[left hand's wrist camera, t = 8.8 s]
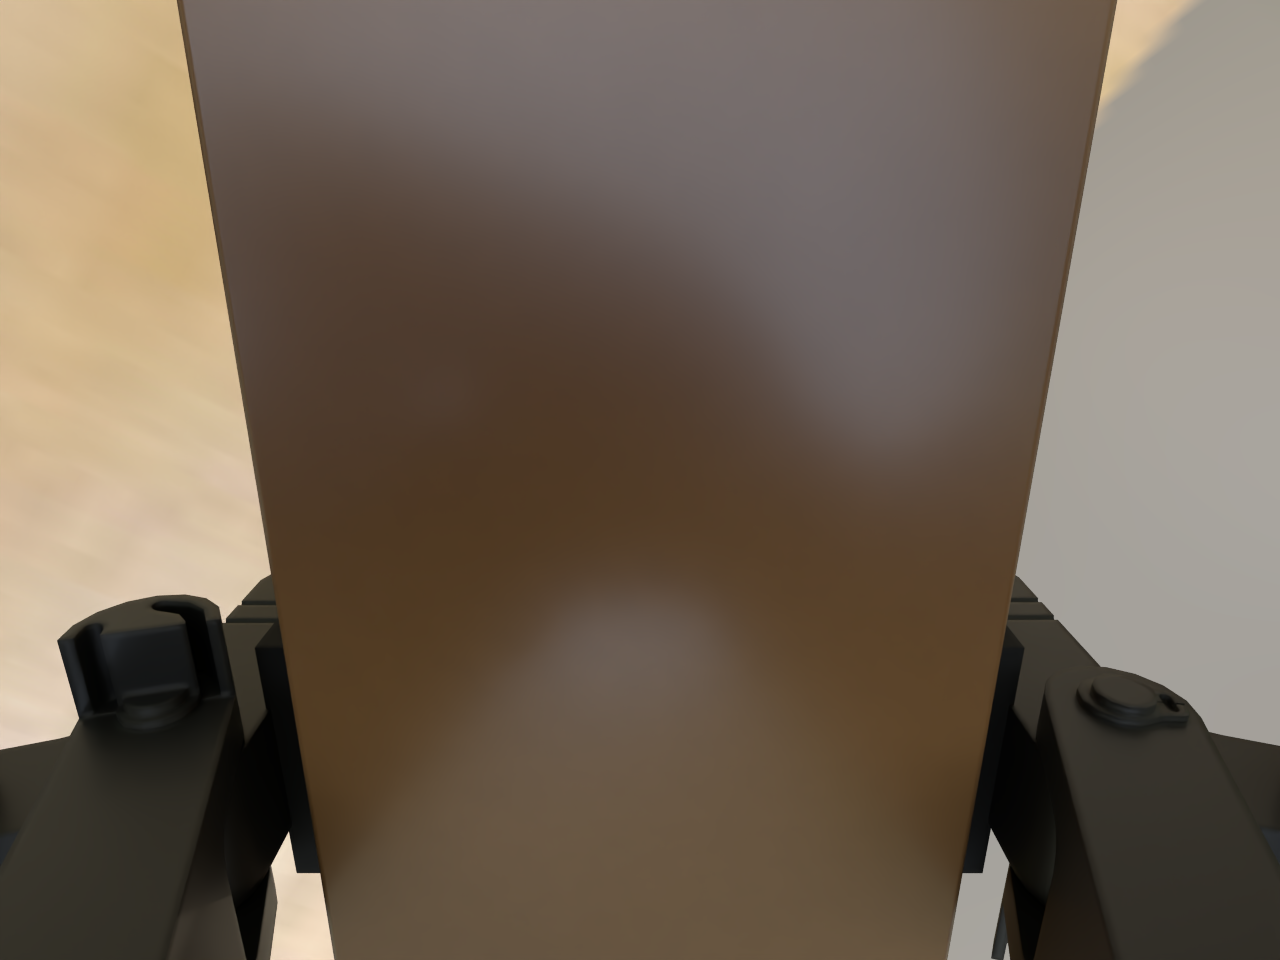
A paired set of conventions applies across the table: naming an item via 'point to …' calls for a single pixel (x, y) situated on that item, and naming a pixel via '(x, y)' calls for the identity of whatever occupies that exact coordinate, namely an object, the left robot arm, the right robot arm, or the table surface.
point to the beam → (644, 446)
